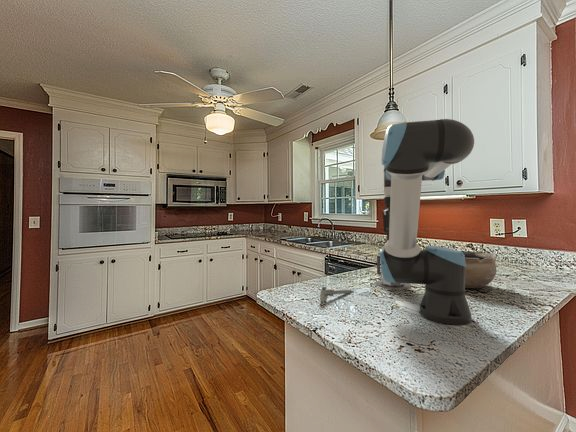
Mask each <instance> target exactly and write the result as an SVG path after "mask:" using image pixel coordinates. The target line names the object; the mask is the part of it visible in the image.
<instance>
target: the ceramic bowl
mask: <svg viewBox="0 0 576 432" xmlns="http://www.w3.org/2000/svg"><path fill="white" fill-rule="evenodd" d="M460 251H461V252H462V253H463V254H464V256H465V264H466V267H465V289H482V288H484V287H487V286H488V285H489V284H490V283H491V282H493V280H494V279H495V276H496V274H497V265H496V260H497V257H498V256H497V255H495V254H494V253H493V254H492V253H491V254H489V253H485V252H479V251H478V252H477V251H468V250H460Z"/></svg>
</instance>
